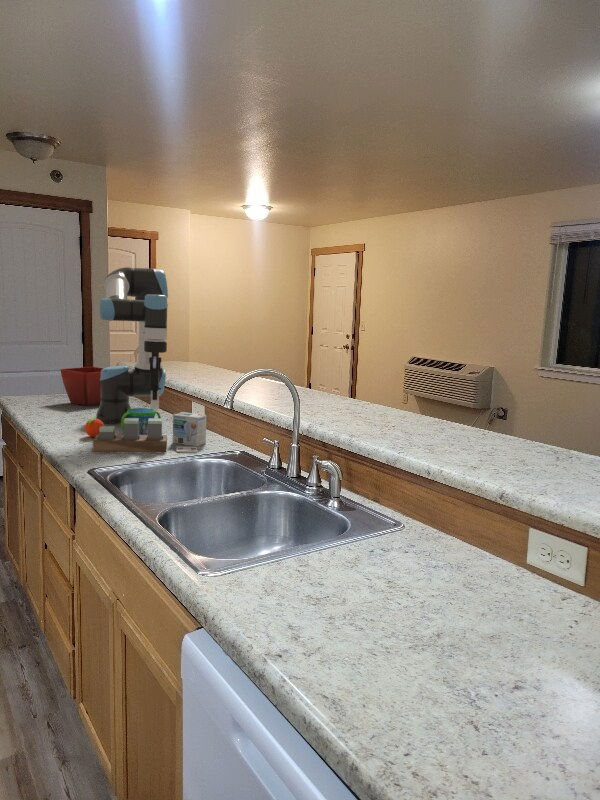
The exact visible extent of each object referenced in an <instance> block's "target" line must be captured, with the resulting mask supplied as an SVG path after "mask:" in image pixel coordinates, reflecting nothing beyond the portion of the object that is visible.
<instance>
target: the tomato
mask: <svg viewBox="0 0 600 800" xmlns="http://www.w3.org/2000/svg"><path fill="white" fill-rule="evenodd" d="M101 426H105V423H103V422H102V421H101V420H99V419H96V417H94V418H90V419H89V420H87V422H85V426H84V431H85V433H86V434H87V435H88V436H89V437H91V438H95V437H96V435H99V429H100V427H101Z"/></svg>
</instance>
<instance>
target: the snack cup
mask: <svg viewBox="0 0 600 800" xmlns="http://www.w3.org/2000/svg"><path fill="white" fill-rule="evenodd" d="M127 415H128V418H139V435H148V419H149V418H155V417H156V415H157V417H158V419H162V416H161V414H160V413H159V412H158V411H156V409H151V408H149V407H148V408H146V407H137V408H135V407H134V408H131V409H128V410H127V412H126V413H124V415H123V416H122V419H121V423H120V426H121V429H122V430H124V419H125V417H126V416H127Z"/></svg>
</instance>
